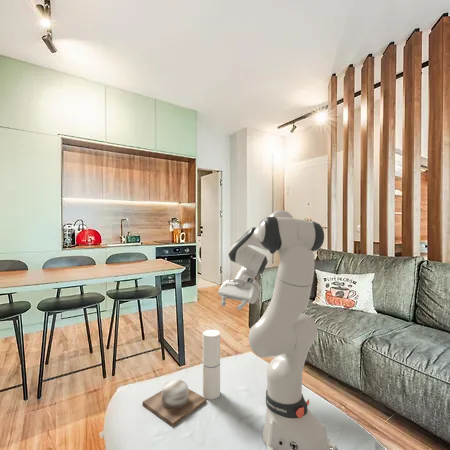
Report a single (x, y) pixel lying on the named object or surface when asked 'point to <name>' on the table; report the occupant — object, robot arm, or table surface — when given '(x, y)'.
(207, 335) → the cylindrical container
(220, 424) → the table surface
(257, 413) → the table surface
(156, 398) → the base
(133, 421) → the table surface
